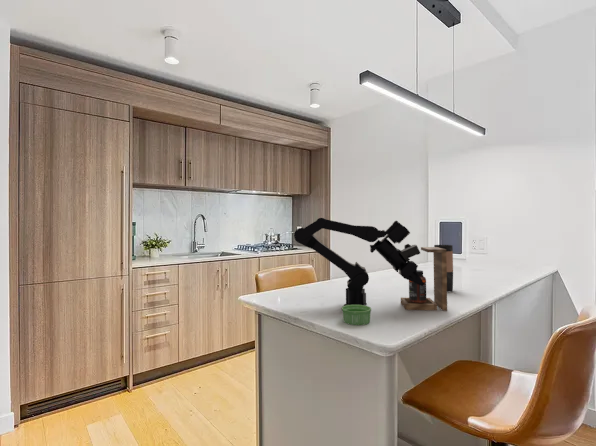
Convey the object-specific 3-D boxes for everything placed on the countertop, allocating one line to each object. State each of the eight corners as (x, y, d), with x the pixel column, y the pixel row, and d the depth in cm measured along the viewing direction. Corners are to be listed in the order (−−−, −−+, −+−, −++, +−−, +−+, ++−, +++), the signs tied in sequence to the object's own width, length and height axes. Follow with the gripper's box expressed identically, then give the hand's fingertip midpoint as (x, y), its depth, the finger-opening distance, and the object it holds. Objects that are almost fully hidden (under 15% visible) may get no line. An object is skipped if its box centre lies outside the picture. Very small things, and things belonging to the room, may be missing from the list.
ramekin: (377, 322, 107) (377, 308, 107) (356, 328, 101) (356, 313, 101) (356, 316, 114) (356, 303, 114) (336, 321, 109) (335, 307, 109)
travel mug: (453, 289, 156) (452, 244, 156) (453, 292, 149) (452, 245, 149) (435, 288, 159) (434, 244, 159) (434, 291, 152) (433, 245, 152)
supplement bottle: (429, 301, 126) (428, 270, 126) (422, 304, 121) (422, 272, 122) (412, 299, 130) (412, 269, 130) (406, 302, 125) (406, 270, 125)
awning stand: (405, 309, 121) (405, 249, 121) (400, 302, 132) (399, 247, 132) (447, 310, 119) (446, 249, 119) (438, 303, 130) (437, 247, 130)
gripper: (411, 238, 117) (445, 271, 116) (401, 236, 135) (430, 264, 134) (387, 261, 118) (421, 294, 117) (380, 256, 136) (409, 284, 135)
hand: (421, 283), depth 126 cm, fingers closed on supplement bottle, 6 cm apart
